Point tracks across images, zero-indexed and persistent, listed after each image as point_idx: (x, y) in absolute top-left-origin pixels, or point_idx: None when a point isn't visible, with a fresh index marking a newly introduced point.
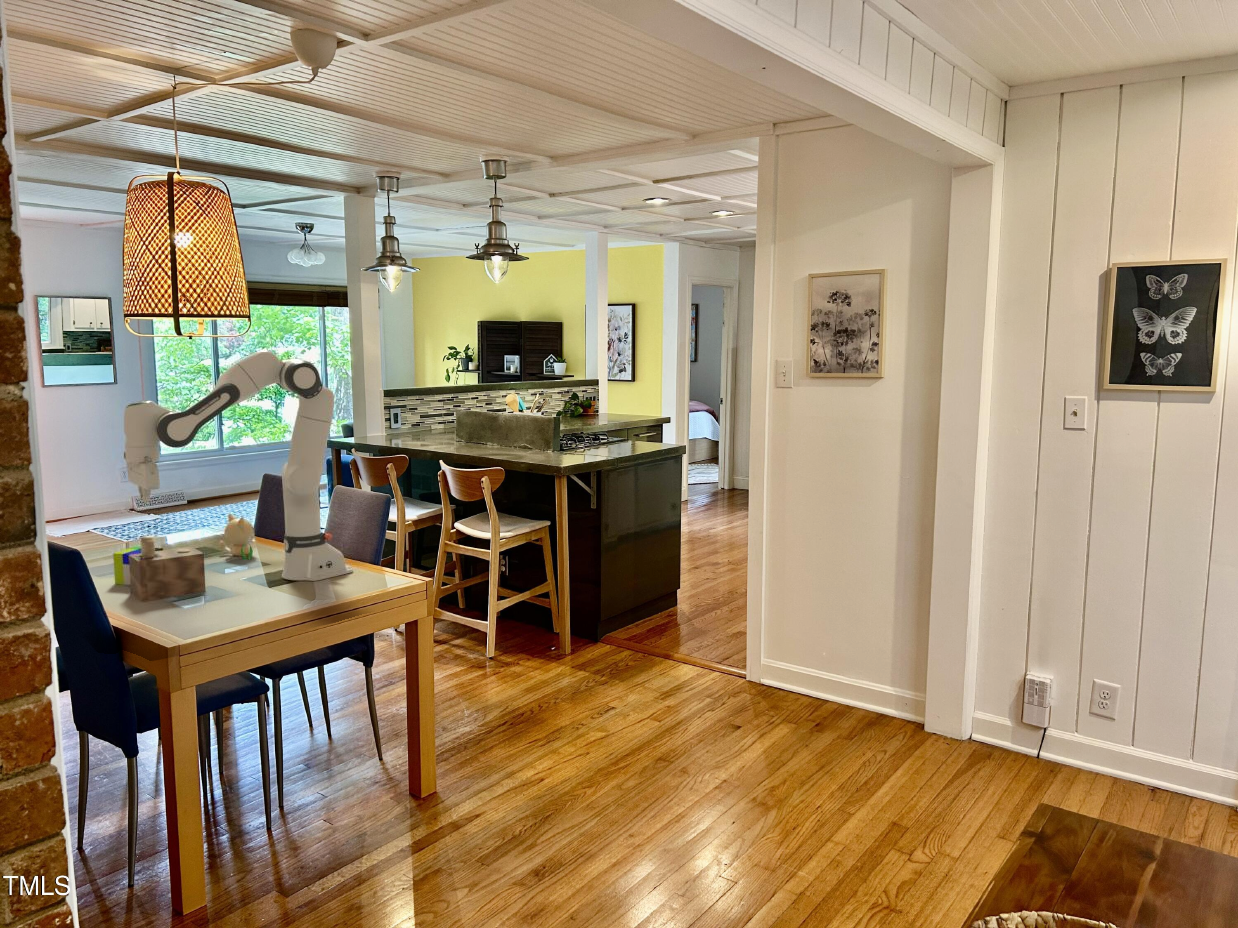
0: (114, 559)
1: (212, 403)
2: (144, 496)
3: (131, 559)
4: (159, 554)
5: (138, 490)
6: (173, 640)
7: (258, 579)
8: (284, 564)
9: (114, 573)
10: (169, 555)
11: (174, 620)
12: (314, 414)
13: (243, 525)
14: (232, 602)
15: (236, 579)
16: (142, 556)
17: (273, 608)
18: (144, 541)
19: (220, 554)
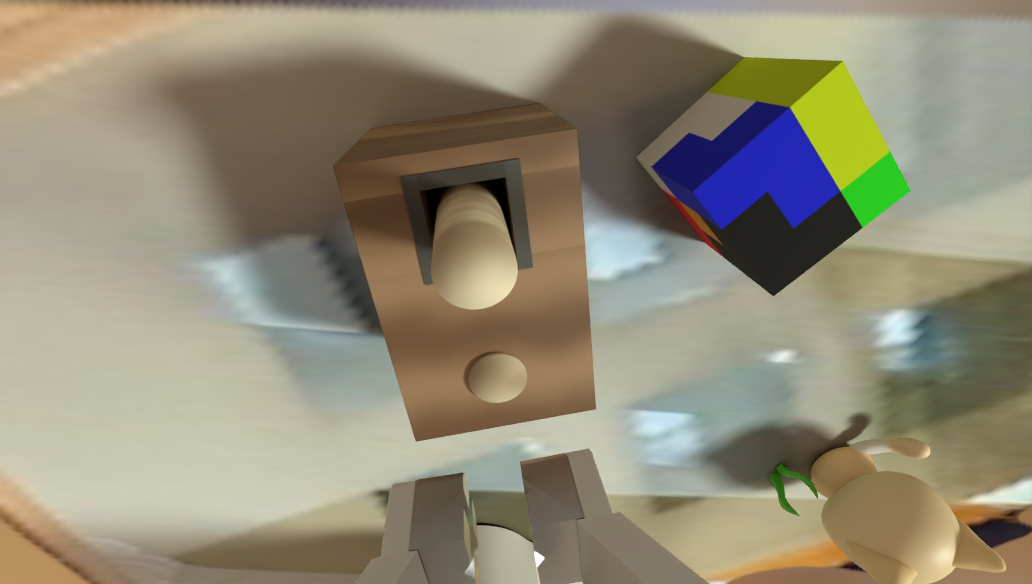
0: (812, 64)
1: None
2: (382, 560)
3: (512, 135)
4: None
5: (679, 561)
6: None
7: (495, 475)
8: (481, 566)
9: (771, 58)
10: (442, 317)
11: (17, 212)
12: None
13: (865, 567)
14: (229, 396)
15: (531, 428)
16: (455, 195)
17: (110, 480)
18: (437, 242)
19: (888, 418)
